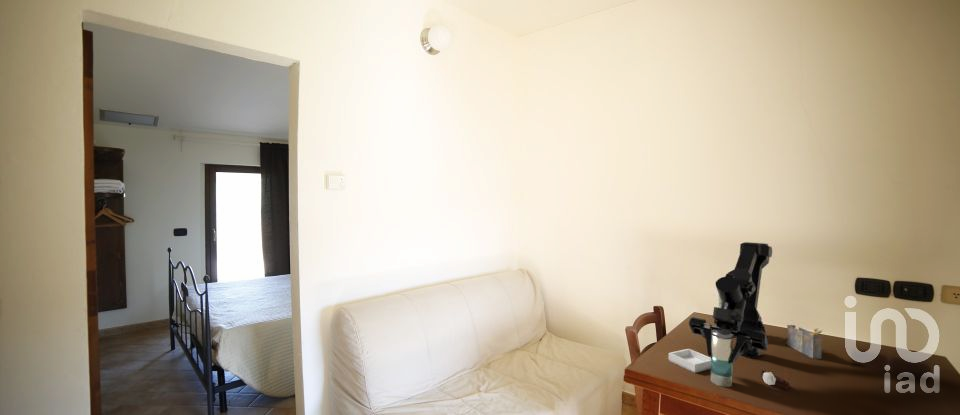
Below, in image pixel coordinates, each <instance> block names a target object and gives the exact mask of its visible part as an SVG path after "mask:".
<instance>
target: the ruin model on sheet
mask: <svg viewBox="0 0 960 415" xmlns="http://www.w3.org/2000/svg"><path fill="white" fill-rule="evenodd" d="M786 326H787V329H786V346H788V347H789V348H791V349H794V350H796V351H798V352H800V353H802V354H803V355H806V357H809V358H811V359H816V360H817V359H820V360H821V359H822V347H823V346H822V345H823V344H822V339H823V337H822V336H820V335H819V334H821V333H822V332H823V330H819V328H814V329H813V331H812V332H811V331H810V330H807V329H804V328H802V327H798V328H796V326H797V325H795V324H787V325H786Z"/></svg>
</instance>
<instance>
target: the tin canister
mask: <svg viewBox="0 0 960 415" xmlns="http://www.w3.org/2000/svg"><path fill="white" fill-rule="evenodd" d="M711 334H712V344H711V356H710V358H711V369H710V382H712V384H714V385H716V386H720V387H725V388H729V387H732V386H733V383H732V382H733V372H734V371H733V364H734V363H731V356H732V353H733V349H734V348H733V343H734V342H733V341H734V340H733V339H734V337H733V334H732V333H731V332H728V331H724V330H712V331H711Z"/></svg>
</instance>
